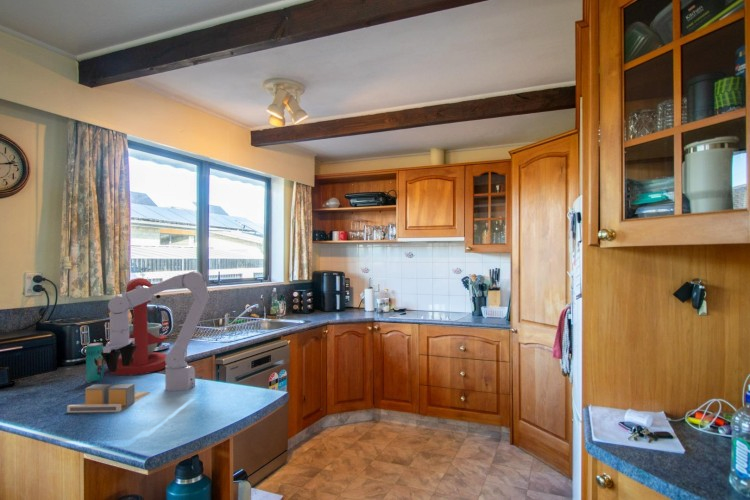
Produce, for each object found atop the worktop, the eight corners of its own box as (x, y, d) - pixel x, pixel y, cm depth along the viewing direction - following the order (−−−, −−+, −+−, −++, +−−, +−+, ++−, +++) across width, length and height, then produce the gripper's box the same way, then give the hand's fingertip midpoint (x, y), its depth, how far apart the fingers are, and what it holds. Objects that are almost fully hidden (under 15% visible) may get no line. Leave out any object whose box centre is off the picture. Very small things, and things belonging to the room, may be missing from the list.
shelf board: (151, 395, 142) (151, 392, 142) (119, 415, 124) (119, 411, 124) (105, 396, 142) (105, 392, 142) (67, 416, 124) (67, 412, 124)
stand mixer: (165, 356, 200) (165, 276, 201) (173, 370, 174) (173, 278, 175) (108, 363, 187) (108, 277, 188) (107, 380, 161) (107, 280, 162)
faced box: (134, 402, 132) (134, 384, 132) (126, 407, 128) (126, 388, 128) (116, 402, 132) (116, 384, 132) (107, 407, 128) (107, 388, 128)
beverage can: (94, 384, 155) (94, 345, 156) (82, 383, 156) (82, 345, 157) (107, 380, 161) (107, 342, 161) (95, 379, 162) (95, 342, 162)
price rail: (121, 410, 125) (121, 403, 125) (119, 411, 124) (119, 405, 124) (69, 411, 125) (69, 404, 125) (66, 412, 124) (66, 406, 124)
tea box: (111, 402, 132) (111, 384, 132) (103, 407, 128) (103, 388, 128) (93, 402, 132) (93, 384, 132) (84, 407, 128) (84, 388, 128)
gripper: (121, 326, 149) (121, 363, 148) (94, 334, 134) (93, 374, 134) (140, 326, 149) (140, 363, 148) (115, 333, 134) (115, 374, 134)
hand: (119, 368), depth 141 cm, fingers open, 7 cm apart
